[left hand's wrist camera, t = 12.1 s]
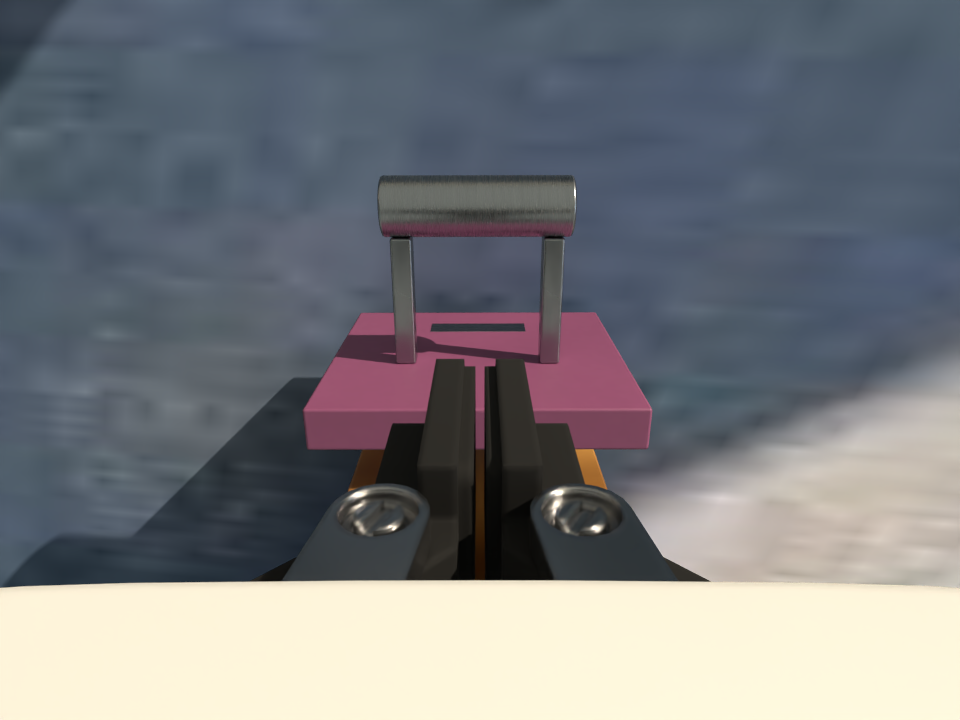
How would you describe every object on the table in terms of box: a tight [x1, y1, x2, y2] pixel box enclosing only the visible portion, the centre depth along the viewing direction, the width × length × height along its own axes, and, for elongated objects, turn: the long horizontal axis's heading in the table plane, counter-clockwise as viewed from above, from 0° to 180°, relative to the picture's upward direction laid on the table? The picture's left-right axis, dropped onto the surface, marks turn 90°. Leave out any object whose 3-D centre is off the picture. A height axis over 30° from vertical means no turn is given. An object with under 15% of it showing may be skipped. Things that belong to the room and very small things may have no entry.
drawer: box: [303, 175, 652, 580], centre depth 22 cm, size 23×9×8 cm, turn 0°
